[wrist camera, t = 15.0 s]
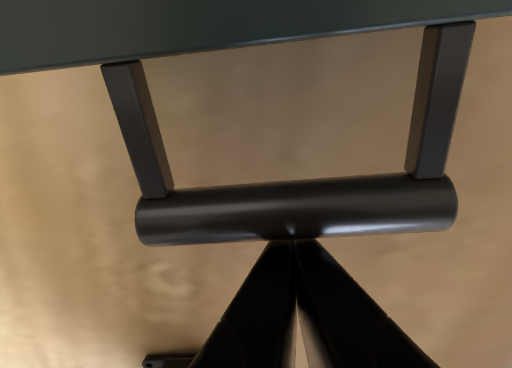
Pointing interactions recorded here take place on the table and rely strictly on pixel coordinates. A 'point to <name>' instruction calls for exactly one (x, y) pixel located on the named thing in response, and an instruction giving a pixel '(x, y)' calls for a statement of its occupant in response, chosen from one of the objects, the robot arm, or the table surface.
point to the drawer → (245, 35)
